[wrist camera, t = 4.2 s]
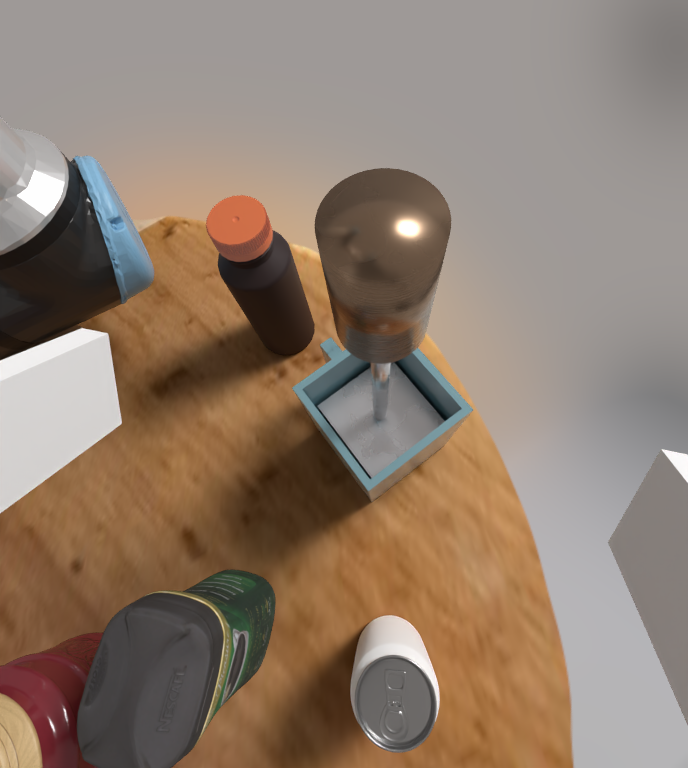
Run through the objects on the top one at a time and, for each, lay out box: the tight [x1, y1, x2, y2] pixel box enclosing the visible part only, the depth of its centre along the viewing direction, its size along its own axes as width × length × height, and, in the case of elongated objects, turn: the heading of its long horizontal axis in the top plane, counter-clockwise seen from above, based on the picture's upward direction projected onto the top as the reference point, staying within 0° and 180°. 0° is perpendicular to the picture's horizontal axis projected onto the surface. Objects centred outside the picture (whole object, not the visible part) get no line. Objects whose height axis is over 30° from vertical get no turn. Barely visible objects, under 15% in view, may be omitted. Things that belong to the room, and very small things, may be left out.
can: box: [350, 615, 439, 753], centre depth 34 cm, size 6×6×12 cm
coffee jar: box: [77, 570, 275, 768], centre depth 33 cm, size 10×8×19 cm
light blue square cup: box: [292, 337, 473, 502], centre depth 40 cm, size 13×10×15 cm
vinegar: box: [206, 195, 314, 355], centre depth 42 cm, size 7×7×20 cm
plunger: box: [315, 168, 451, 478], centre depth 26 cm, size 8×8×25 cm
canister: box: [0, 633, 103, 768], centre depth 32 cm, size 13×13×18 cm
